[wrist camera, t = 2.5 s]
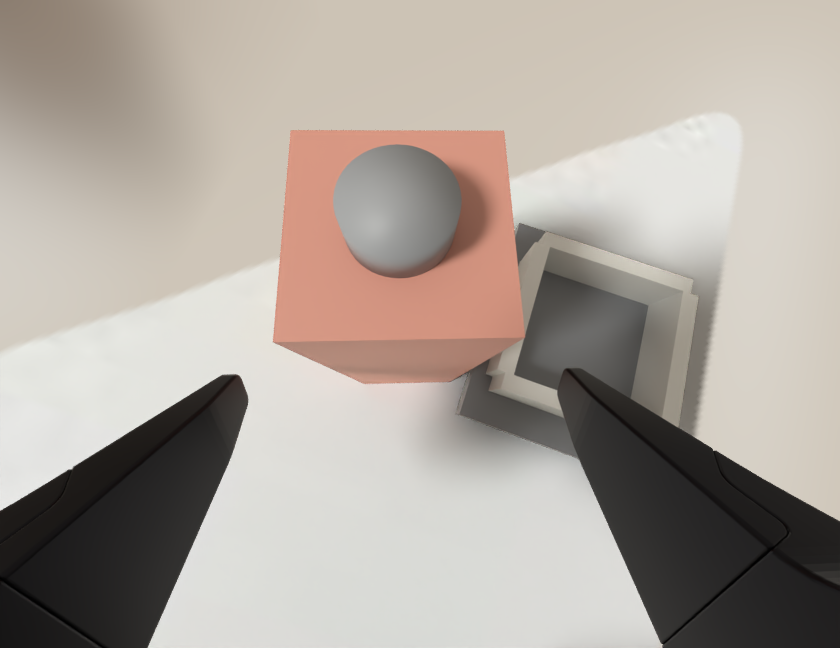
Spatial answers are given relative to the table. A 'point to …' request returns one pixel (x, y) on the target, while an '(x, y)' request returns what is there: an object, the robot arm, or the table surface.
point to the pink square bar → (398, 253)
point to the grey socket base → (584, 338)
